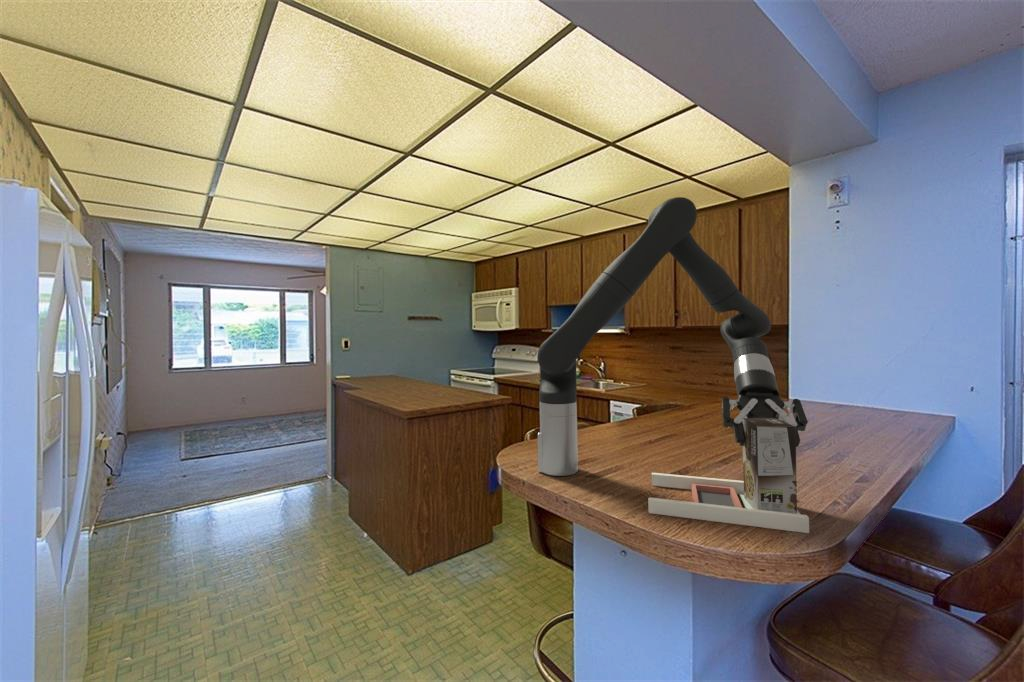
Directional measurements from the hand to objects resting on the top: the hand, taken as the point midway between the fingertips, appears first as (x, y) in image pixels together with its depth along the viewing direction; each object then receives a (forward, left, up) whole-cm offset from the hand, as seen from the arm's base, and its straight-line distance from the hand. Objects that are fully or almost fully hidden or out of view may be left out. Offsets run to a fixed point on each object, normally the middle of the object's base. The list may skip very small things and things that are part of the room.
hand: (767, 445), depth 77 cm
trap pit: (-9, -2, -12) cm, 15 cm away
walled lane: (-9, -2, -12) cm, 15 cm away
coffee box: (0, -1, -12) cm, 12 cm away
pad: (0, -2, -12) cm, 12 cm away
